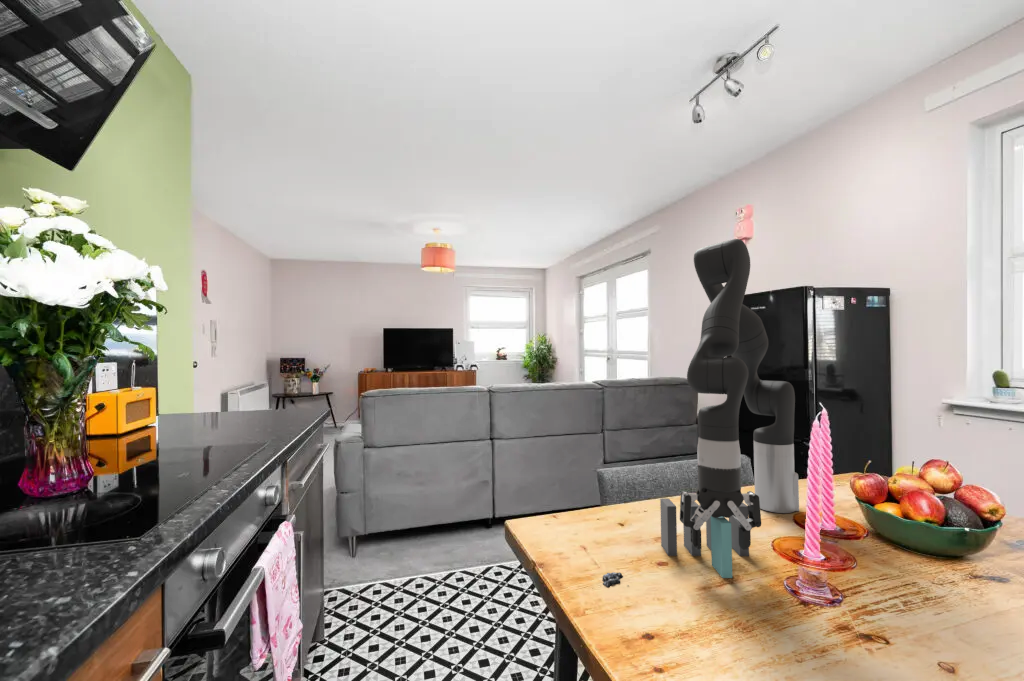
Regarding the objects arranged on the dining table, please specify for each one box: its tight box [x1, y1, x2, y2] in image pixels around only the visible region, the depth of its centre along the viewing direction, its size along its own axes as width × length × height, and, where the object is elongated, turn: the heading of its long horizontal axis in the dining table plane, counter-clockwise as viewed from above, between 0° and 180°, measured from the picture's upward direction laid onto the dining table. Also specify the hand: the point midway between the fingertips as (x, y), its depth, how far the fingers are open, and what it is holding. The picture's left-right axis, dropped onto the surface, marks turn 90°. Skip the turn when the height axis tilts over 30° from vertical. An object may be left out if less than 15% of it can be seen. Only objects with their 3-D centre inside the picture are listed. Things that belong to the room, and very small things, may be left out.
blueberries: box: [602, 571, 629, 588], centre depth 84 cm, size 7×8×2 cm
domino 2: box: [682, 500, 702, 557], centre depth 96 cm, size 2×5×10 cm, turn 178°
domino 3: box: [705, 517, 711, 551], centre depth 96 cm, size 2×5×10 cm, turn 178°
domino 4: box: [728, 501, 750, 557], centre depth 96 cm, size 2×5×10 cm, turn 178°
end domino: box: [710, 516, 733, 579], centre depth 87 cm, size 2×5×10 cm, turn 178°
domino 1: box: [659, 497, 678, 557], centre depth 96 cm, size 2×5×10 cm, turn 178°
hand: (720, 548), depth 87 cm, fingers open, 8 cm apart
